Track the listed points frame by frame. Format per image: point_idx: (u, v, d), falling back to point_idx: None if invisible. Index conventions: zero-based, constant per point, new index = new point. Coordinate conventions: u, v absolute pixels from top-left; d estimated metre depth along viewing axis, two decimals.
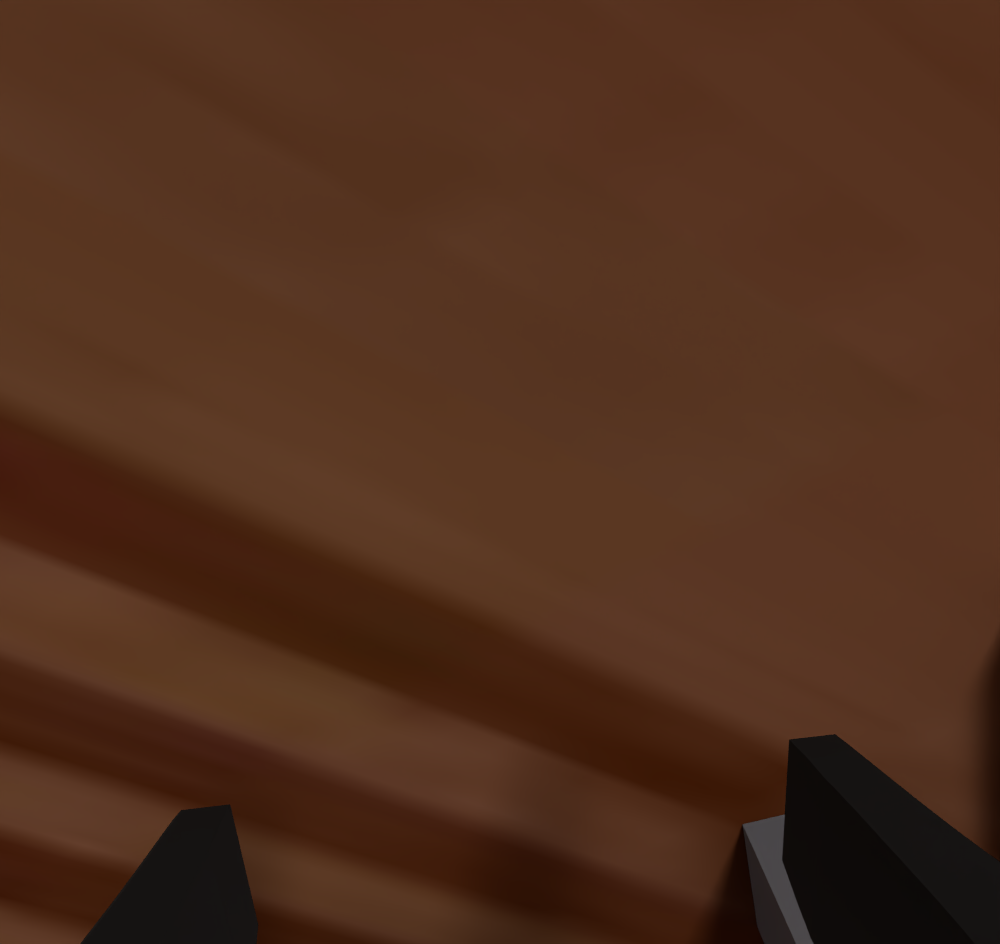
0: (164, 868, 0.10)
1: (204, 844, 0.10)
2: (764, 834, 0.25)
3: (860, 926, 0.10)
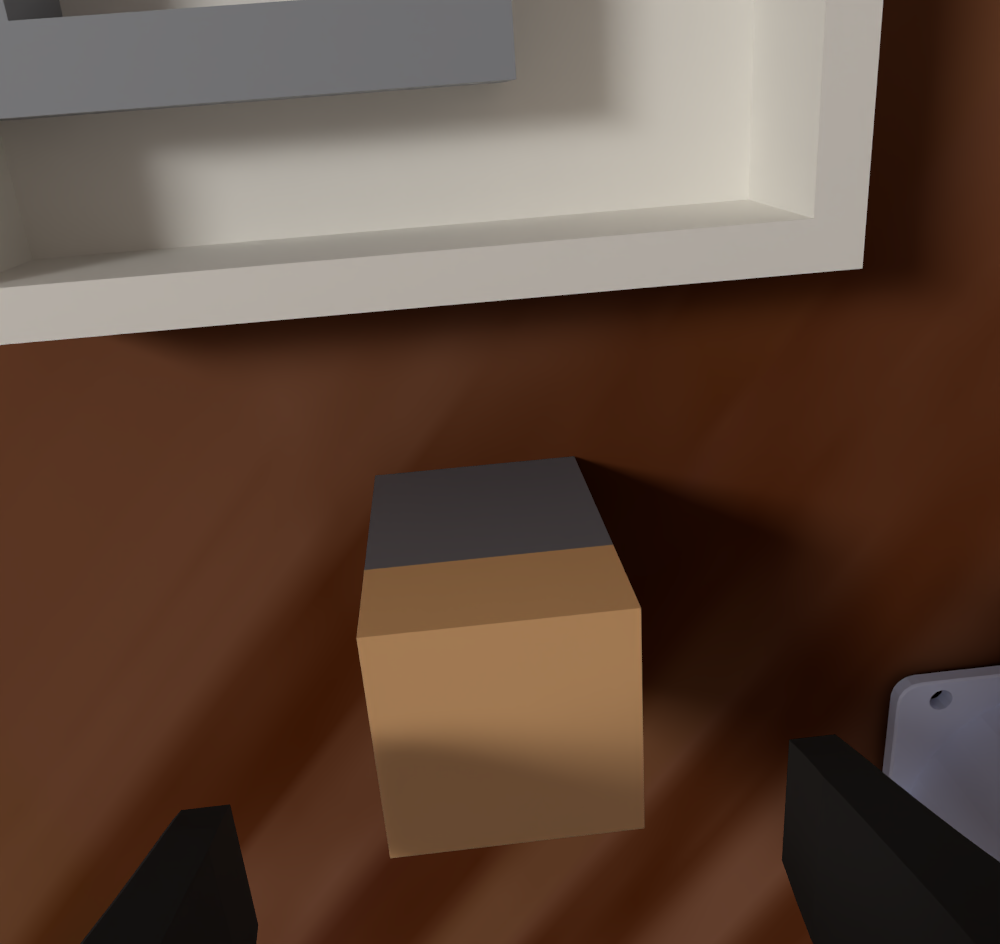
0: (164, 868, 0.10)
1: (204, 844, 0.10)
2: None
3: (860, 925, 0.10)
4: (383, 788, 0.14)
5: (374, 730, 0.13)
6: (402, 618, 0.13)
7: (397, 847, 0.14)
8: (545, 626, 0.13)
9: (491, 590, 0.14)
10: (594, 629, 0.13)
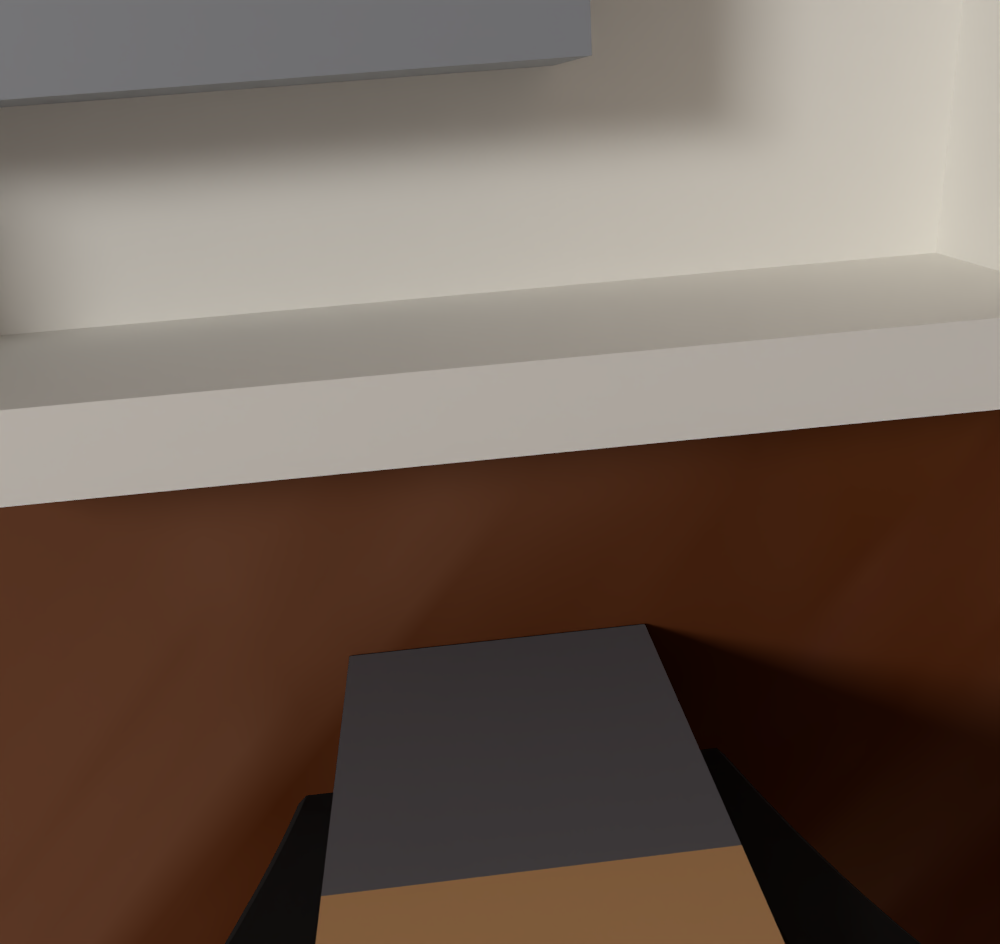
0: (305, 851, 0.10)
1: None
2: None
3: None
4: None
5: None
6: None
7: None
8: None
9: None
10: None
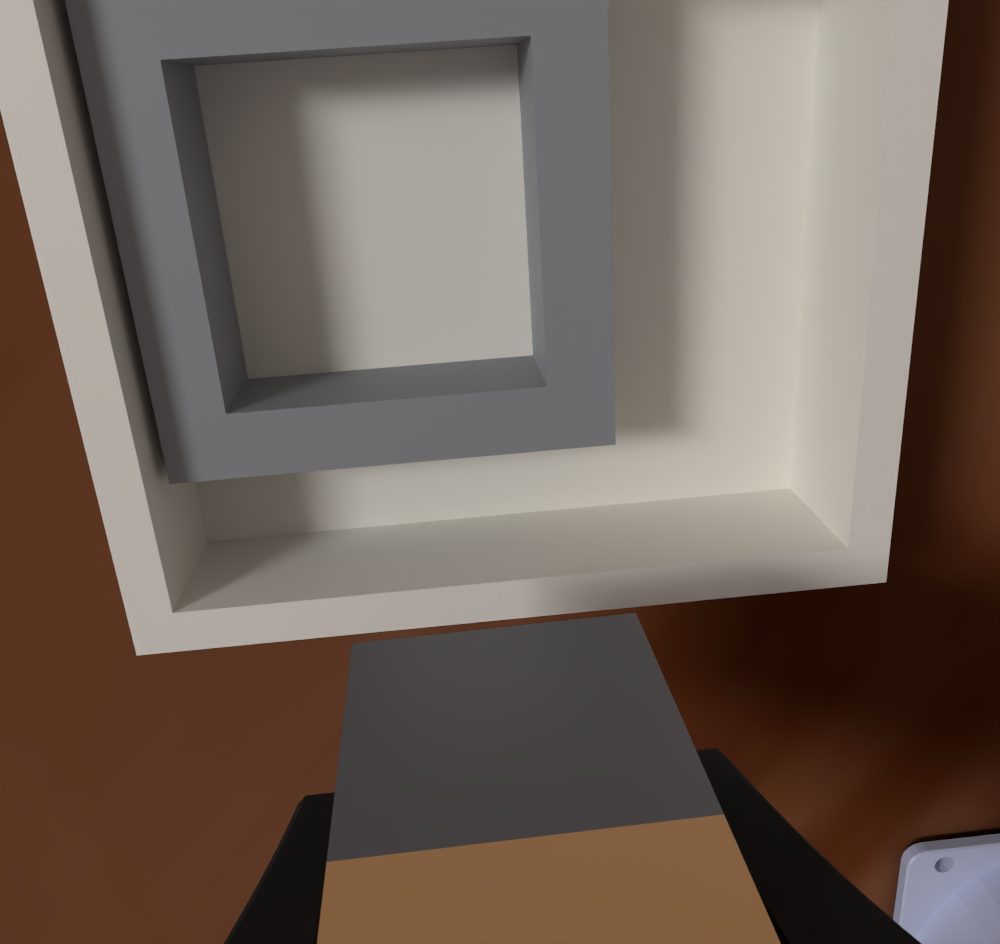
0: (304, 851, 0.10)
1: None
2: None
3: None
4: None
5: None
6: None
7: None
8: None
9: (536, 927, 0.08)
10: None
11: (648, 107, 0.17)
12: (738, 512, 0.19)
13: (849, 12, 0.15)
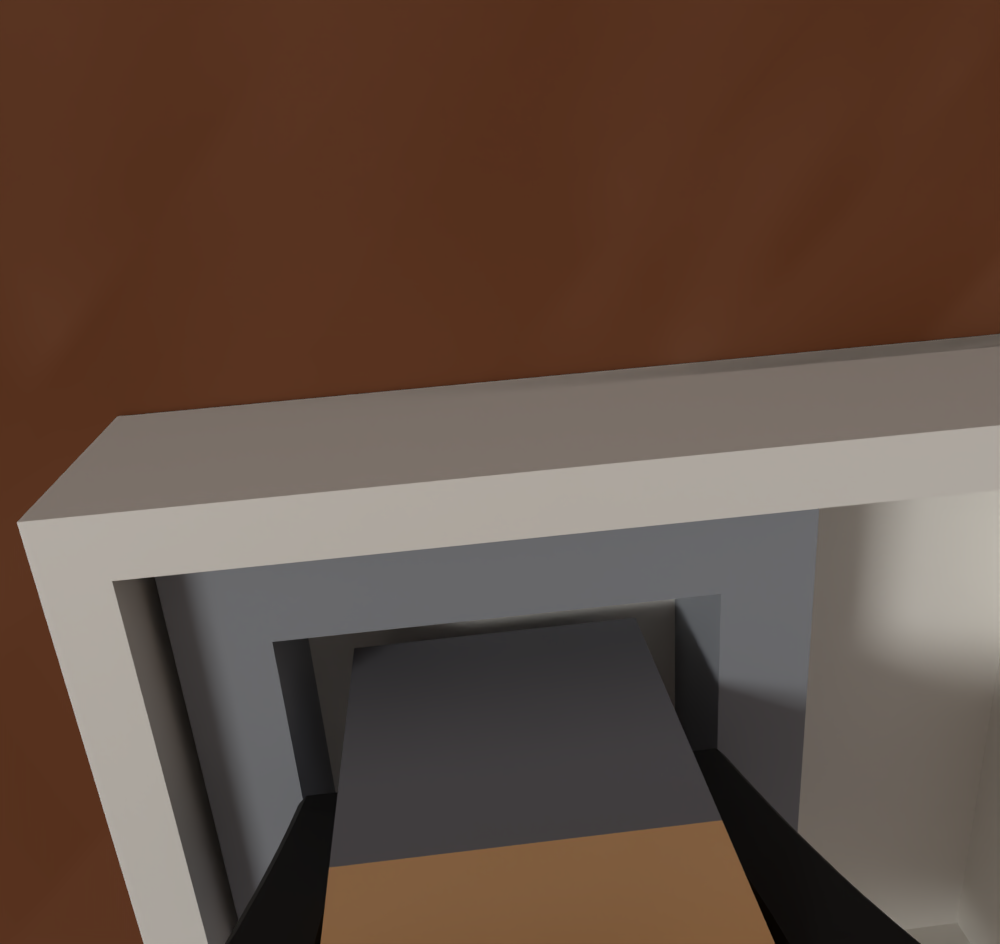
0: (305, 851, 0.10)
1: None
2: None
3: None
4: None
5: None
6: None
7: None
8: None
9: (535, 932, 0.08)
10: None
11: (824, 573, 0.14)
12: None
13: None
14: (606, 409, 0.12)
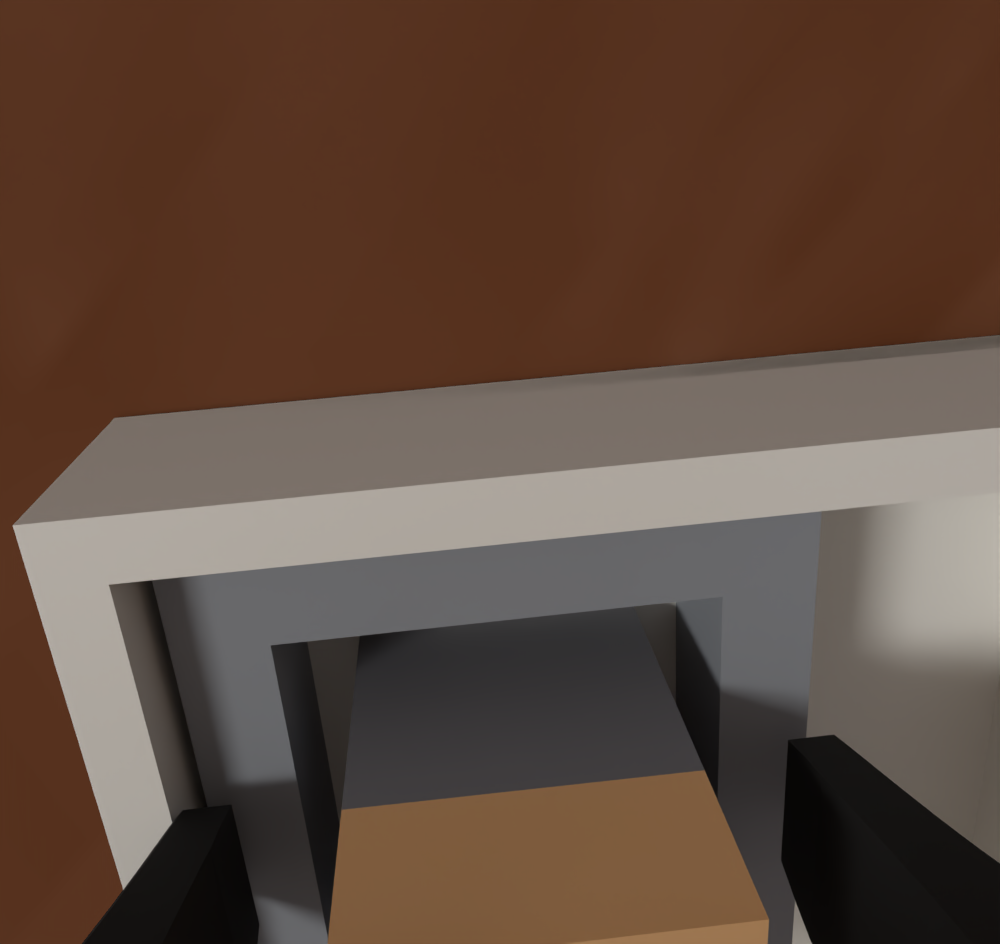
0: (166, 868, 0.10)
1: (206, 844, 0.10)
2: None
3: (859, 926, 0.10)
4: None
5: None
6: (396, 927, 0.08)
7: None
8: None
9: (532, 865, 0.09)
10: None
11: (825, 575, 0.14)
12: None
13: None
14: (607, 411, 0.12)
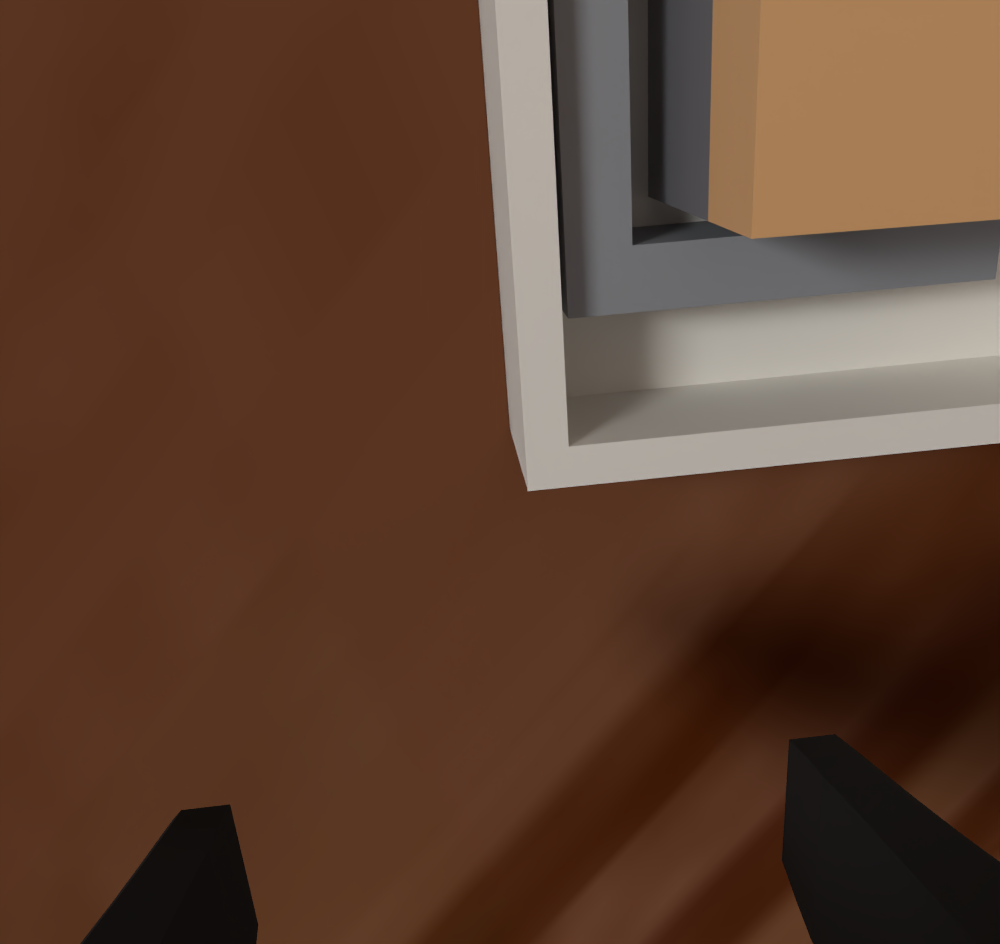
0: (164, 868, 0.10)
1: (204, 844, 0.10)
2: (654, 175, 0.17)
3: (860, 926, 0.10)
4: (759, 132, 0.12)
5: (763, 42, 0.12)
6: None
7: (762, 221, 0.12)
8: None
9: None
10: None
11: None
12: None
13: None
14: None
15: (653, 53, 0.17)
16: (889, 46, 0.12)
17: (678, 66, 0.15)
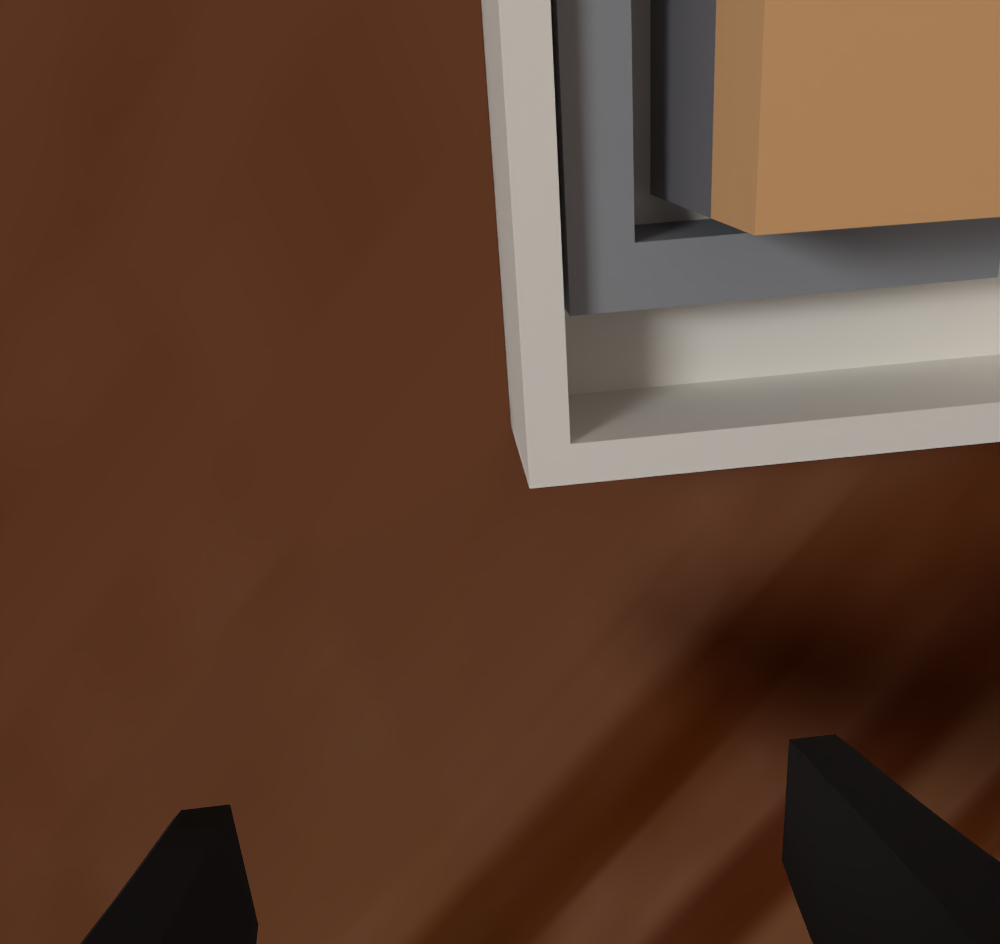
0: (164, 868, 0.10)
1: (204, 844, 0.10)
2: (656, 172, 0.17)
3: (860, 926, 0.10)
4: (763, 129, 0.12)
5: (768, 38, 0.12)
6: None
7: (765, 217, 0.12)
8: None
9: None
10: None
11: None
12: None
13: None
14: None
15: (656, 50, 0.17)
16: (893, 42, 0.12)
17: (681, 63, 0.15)
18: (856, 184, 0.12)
